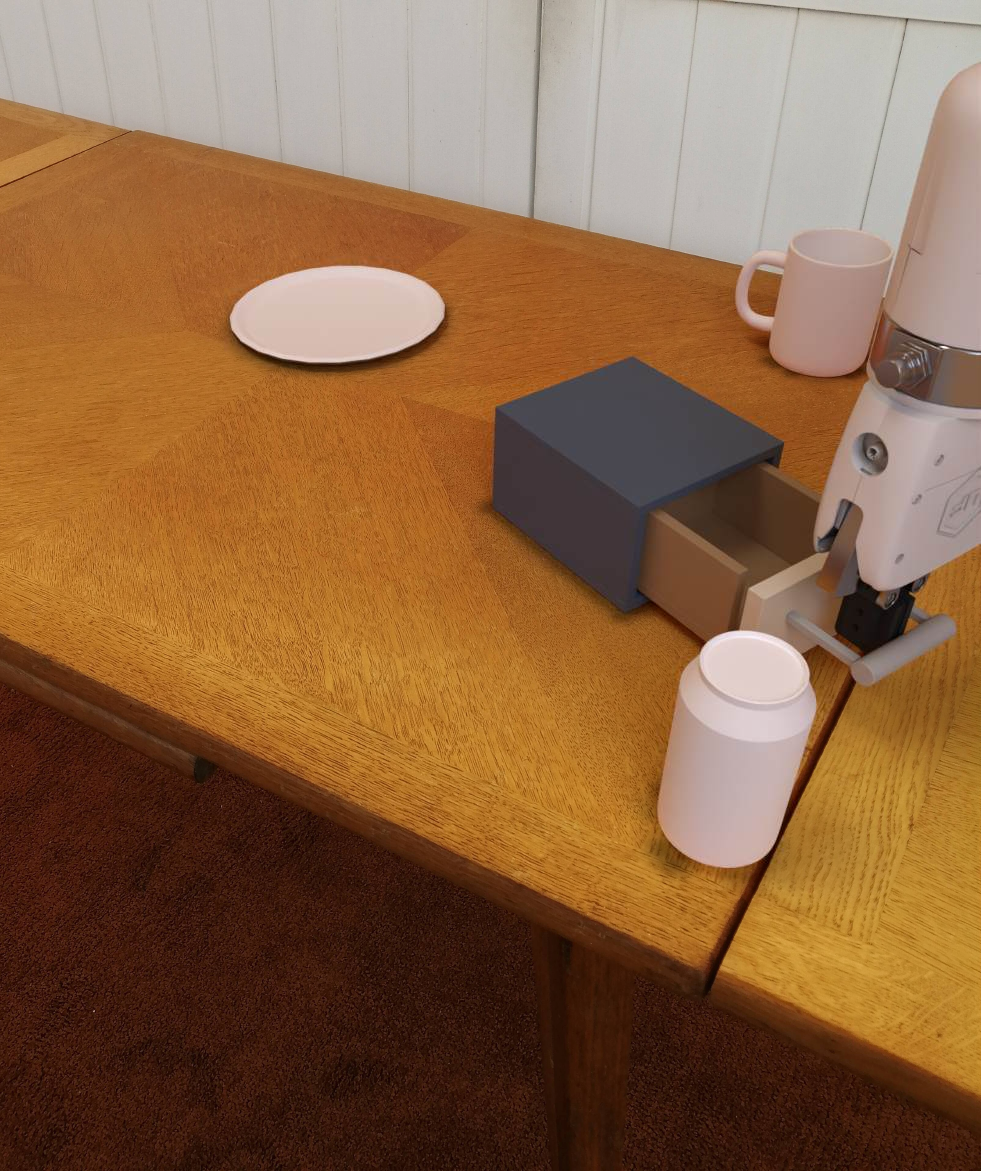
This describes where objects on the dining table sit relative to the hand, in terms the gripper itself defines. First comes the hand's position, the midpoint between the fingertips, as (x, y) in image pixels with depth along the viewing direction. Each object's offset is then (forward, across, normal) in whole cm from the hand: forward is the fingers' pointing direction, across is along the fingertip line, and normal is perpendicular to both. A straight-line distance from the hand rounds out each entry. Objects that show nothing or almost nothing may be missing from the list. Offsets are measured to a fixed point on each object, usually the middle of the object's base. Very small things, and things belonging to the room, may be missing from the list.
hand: (864, 640), depth 62 cm
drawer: (+3, 0, +7) cm, 7 cm away
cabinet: (+4, 0, +20) cm, 20 cm away
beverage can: (+4, -14, -3) cm, 15 cm away
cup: (+4, +30, +31) cm, 43 cm away
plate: (+4, 0, +61) cm, 61 cm away
